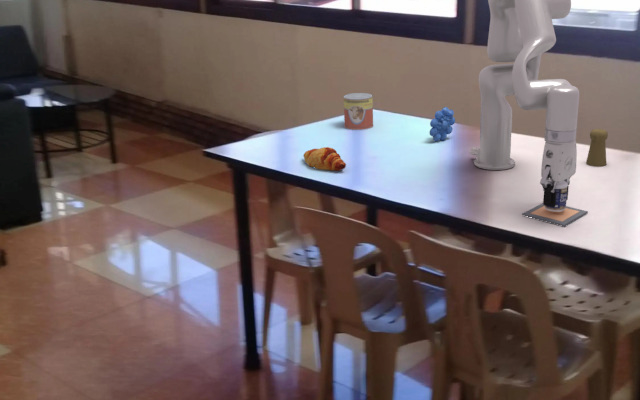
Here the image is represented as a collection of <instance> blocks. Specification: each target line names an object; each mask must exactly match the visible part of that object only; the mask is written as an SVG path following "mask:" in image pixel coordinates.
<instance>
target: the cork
mask: <svg viewBox="0 0 640 400" xmlns="http://www.w3.org/2000/svg"><path fill="white" fill-rule="evenodd" d="M608 137H609V135H608V131H607V130H606V129H604V128H603V129H602V128H594V129H592V130H591V131H590V133H589V138H590V140H591V141H590V144H589V148H588V149H589V150H588V154H587V157H586V162H585V164H586V165H587V166H590V167H598V168H599V167H605V166H607V147H606V144H607V143H606V140H607V139H608Z"/></svg>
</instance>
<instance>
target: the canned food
mask: <svg viewBox="0 0 640 400" xmlns="http://www.w3.org/2000/svg"><path fill="white" fill-rule="evenodd" d="M342 98H343V115H344V116H343V117H344V118H343V119H344V122H343V123H344V128H345V129H346V130H351V131H364V130H368V129H372V128H374V111H373V110H374V105H373V104H374V103H373V100H374V99H373V94H371V93H366V92H353V93H346V94H345V95H343V97H342Z"/></svg>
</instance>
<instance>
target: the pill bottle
mask: <svg viewBox="0 0 640 400" xmlns="http://www.w3.org/2000/svg"><path fill="white" fill-rule="evenodd" d="M549 179H551V180H553V179H552V177H549ZM549 184H550V185H551V186H552V184H553V182H549ZM568 186H569V185H568V184H567V182H566V181H565V180H563V181H561V182H559V183H557V184H556V189H555V192H556V205H555V207H550V206H546V205H544V208H545V209H546V210H548V211H552V212H562V211H564V210H565V209H566V206H567V200H568V199H567V188H568V189H569V187H568Z"/></svg>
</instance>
